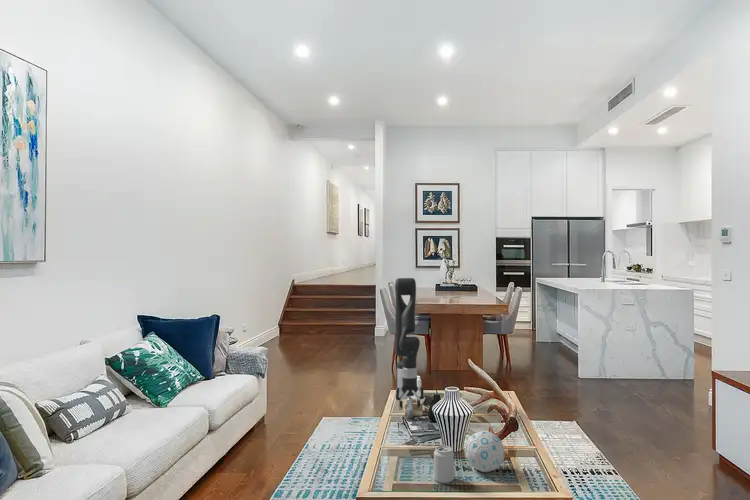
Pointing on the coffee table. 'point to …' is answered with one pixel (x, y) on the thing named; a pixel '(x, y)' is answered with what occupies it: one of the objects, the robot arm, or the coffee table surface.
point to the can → (443, 464)
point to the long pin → (409, 407)
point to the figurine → (418, 390)
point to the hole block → (415, 409)
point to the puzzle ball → (484, 451)
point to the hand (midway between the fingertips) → (409, 407)
